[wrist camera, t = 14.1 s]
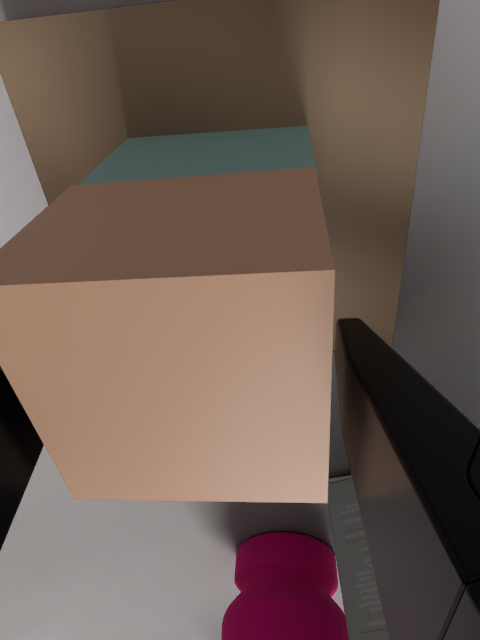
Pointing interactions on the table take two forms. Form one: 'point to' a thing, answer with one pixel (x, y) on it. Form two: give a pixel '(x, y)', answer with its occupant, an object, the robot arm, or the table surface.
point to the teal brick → (206, 155)
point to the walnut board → (245, 105)
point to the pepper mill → (285, 591)
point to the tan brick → (177, 337)
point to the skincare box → (354, 563)
